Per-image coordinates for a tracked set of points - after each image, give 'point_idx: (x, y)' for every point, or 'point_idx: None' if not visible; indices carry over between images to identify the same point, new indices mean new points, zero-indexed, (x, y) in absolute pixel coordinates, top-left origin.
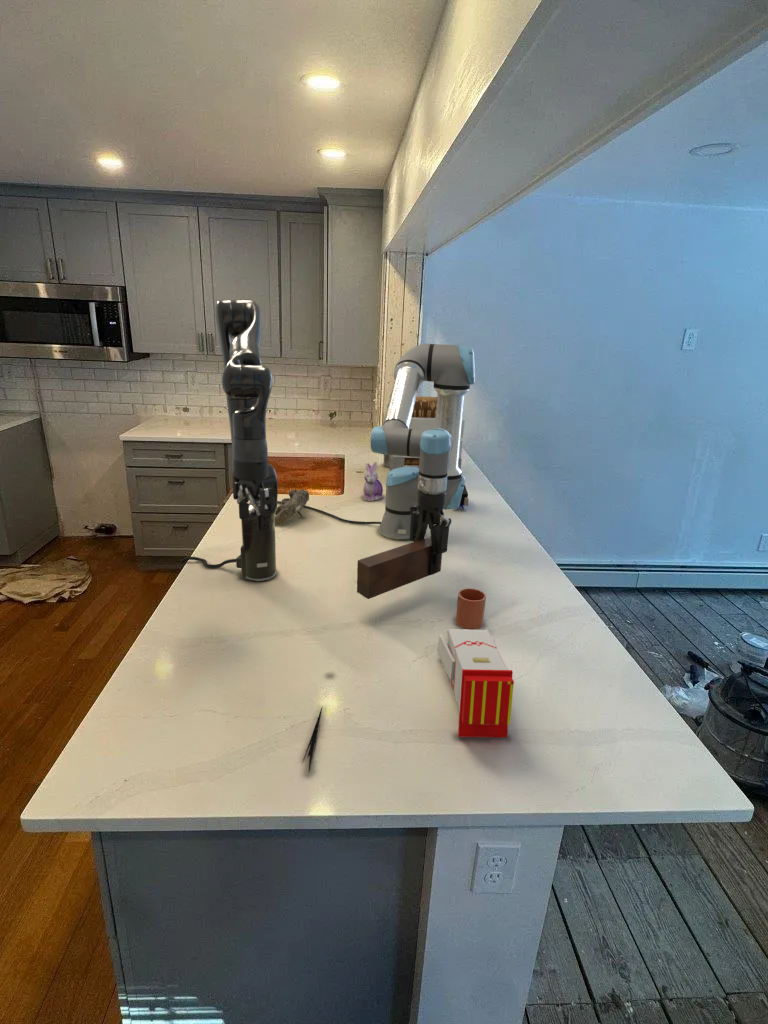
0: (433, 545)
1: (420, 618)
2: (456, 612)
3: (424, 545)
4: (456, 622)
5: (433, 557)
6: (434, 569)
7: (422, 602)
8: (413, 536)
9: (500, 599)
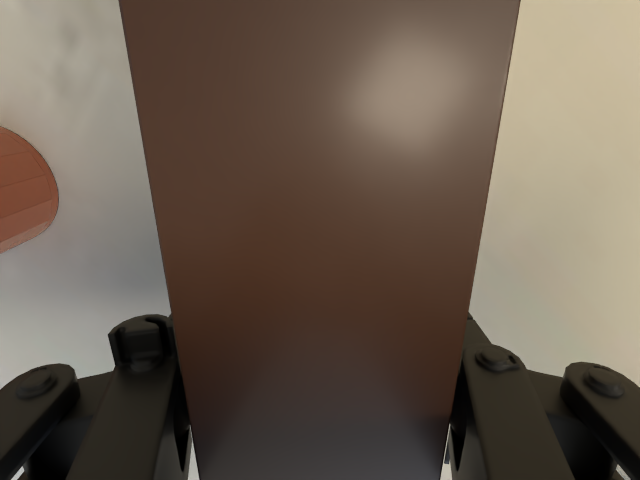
0: (125, 433)
1: None
2: (3, 154)
3: (251, 351)
4: (7, 130)
5: None
6: None
7: None
8: (598, 429)
9: None
